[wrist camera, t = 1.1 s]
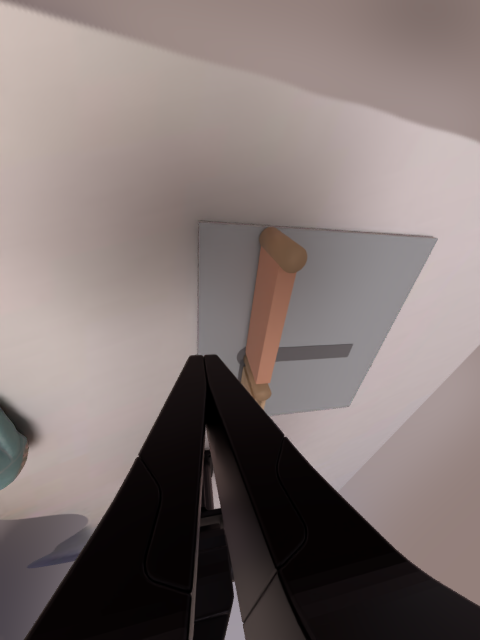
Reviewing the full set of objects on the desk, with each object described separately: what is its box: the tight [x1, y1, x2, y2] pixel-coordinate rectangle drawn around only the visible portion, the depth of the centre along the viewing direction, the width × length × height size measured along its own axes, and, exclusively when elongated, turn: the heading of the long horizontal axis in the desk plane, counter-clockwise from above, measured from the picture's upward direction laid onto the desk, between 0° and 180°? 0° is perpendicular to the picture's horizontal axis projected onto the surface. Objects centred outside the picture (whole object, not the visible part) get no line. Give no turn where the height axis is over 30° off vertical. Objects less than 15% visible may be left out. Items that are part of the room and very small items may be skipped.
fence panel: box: [243, 227, 307, 401], centre depth 18 cm, size 13×2×4 cm, turn 174°
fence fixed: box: [241, 367, 266, 410], centre depth 24 cm, size 10×2×4 cm, turn 174°
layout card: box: [197, 221, 438, 416], centre depth 24 cm, size 22×20×1 cm
